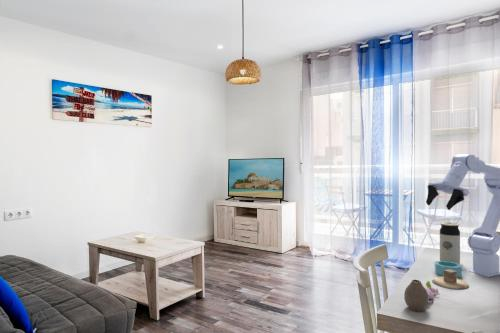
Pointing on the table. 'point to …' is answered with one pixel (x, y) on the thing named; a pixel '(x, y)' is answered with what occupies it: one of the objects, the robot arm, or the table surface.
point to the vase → (416, 296)
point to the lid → (450, 280)
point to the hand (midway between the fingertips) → (437, 205)
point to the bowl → (447, 267)
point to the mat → (450, 288)
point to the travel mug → (450, 242)
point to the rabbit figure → (431, 290)
